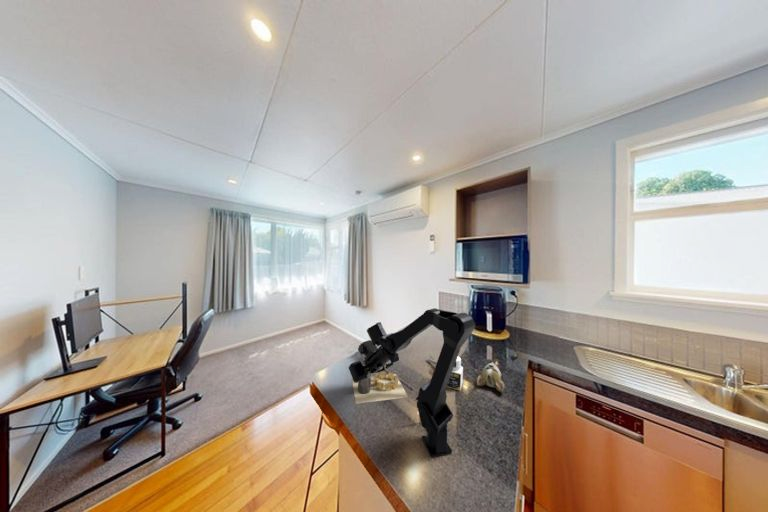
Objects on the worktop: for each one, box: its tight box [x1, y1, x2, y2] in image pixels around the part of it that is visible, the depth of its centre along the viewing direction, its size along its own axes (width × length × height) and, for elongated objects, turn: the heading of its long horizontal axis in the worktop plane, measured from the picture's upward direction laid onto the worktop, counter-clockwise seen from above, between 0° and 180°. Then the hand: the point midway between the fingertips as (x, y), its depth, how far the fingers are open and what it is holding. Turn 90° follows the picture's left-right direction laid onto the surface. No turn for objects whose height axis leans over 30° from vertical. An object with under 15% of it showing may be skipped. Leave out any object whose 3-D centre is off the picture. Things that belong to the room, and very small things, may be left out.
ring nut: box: [373, 371, 399, 391], centre depth 88 cm, size 10×10×2 cm
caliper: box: [426, 358, 438, 366], centre depth 104 cm, size 21×1×6 cm, turn 20°
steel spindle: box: [358, 356, 372, 394], centre depth 83 cm, size 5×5×12 cm
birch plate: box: [351, 373, 409, 405], centre depth 86 cm, size 17×20×1 cm
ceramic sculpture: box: [476, 361, 505, 393], centre depth 92 cm, size 11×9×15 cm
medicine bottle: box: [446, 356, 464, 391], centre depth 91 cm, size 7×7×12 cm
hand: (362, 374), depth 84 cm, fingers closed on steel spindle, 5 cm apart
